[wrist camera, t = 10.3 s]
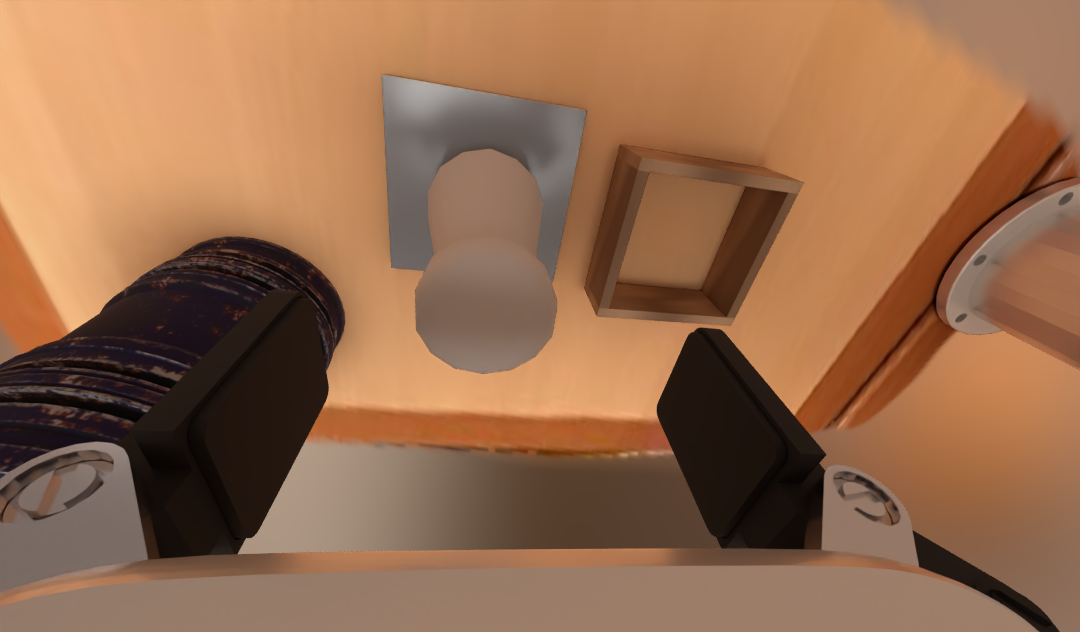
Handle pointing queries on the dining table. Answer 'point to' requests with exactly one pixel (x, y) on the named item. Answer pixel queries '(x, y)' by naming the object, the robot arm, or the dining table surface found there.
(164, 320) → the dark blue cylinder
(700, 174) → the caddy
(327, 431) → the dining table surface
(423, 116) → the coaster
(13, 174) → the dining table surface
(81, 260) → the dining table surface
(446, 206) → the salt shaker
